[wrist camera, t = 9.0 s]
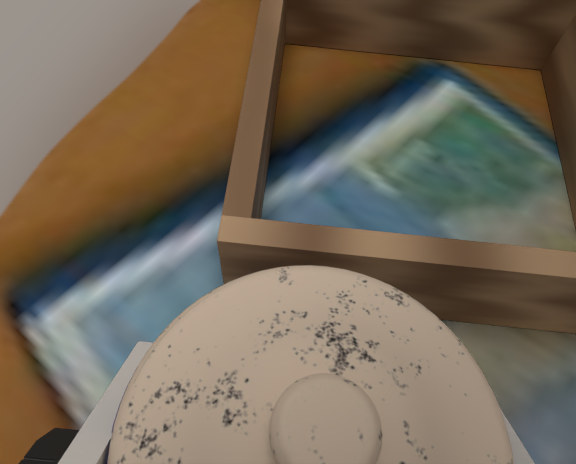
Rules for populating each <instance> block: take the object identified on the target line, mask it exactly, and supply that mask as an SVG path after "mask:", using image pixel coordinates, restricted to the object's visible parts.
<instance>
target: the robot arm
mask: <svg viewBox="0 0 576 464" xmlns="http://www.w3.org/2000/svg"><path fill="white" fill-rule="evenodd" d="M152 344H153V343H151V342H141V341H138V343H137V344H136V346H135V347H134V349H133V350H132V352H131V353H130V355H129V356H128V358H127V359H126V361H125V362H124V364H123V365H122V367H121V369H120V370H119V372H118V373H117V375H116V376H115V378H114V379H113V381H112V382H111V384H110V385H109V387H108V388H107V390H106V391H105V393H104V394H103V396H102V397H101V399H100V400H99V402H98V403H97V405H96V406H95V408H94V409H93V411H92V412H91V414H90V415H89V417H88V418H87V420H86V422H85V423H84V425H83V426H82V428H81V429H80V430H70V429H61V428H54V429H53V430H51V431H50V432H48V433H47V434H46V435H44V436H43V437H41V438H40V439H38V440H37V441H36V442H35V443H34V445H33V446H32V447H31V449H30V450H29V451H28V452H27V454H26V455H25V456H24V460H21V462H20V463H19V464H106V462H107V457H108V452H109V447H110V441H111V436H112V427H113V423H114V420H115V417H116V414H117V411H118V408H119V404H120V402H121V400H122V397H123V395H124V392H125V390H126V388H127V385H128V383H129V381H130V380H131V378H132V376H133V374H134V372H135V370H136V368H137V367H138V365H139V363H140V362H141V360H142V359H143V357H144V356H145V354H146V352H147V351H148V349H149V348H150V347H151V346H152ZM500 410H501V409H500ZM501 413H502V416H503V419H504V422H505V425H506V428H507V431H508V435H509V440H510V444H511V448H512V453H513V460H514V464H535V463H534V461H533V460H532V458H531V457H530V455H529V453H528V452H527V450H526V449H525V447H524V446H523V444H522V442H521V441H520V439H519V438H518V436H517V434H516V433H515V431H514V430H513V428H512V426H511V425H510V423H509V422H508V420H507V418H506V417H505V415H504V414H503V412H502V410H501Z"/></svg>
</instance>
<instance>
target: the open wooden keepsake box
mask: <svg viewBox="0 0 576 464" xmlns="http://www.w3.org/2000/svg"><path fill="white" fill-rule="evenodd" d="M285 44H295V45H305V46H314V47H324V48H334V49H343V50H353V51H363V52H373V53H382V54H392V55H402V56H412V57H421V58H431V59H441V60H450V61H460V62H470V63H480V64H489V65H499V66H509V67H518V68H528V69H538V70H541V73H542V77H543V82H544V87H545V91H546V96H547V100H548V105H549V109H550V114H551V118H552V123H553V127H554V132H555V137H556V141H557V146H558V150H559V155H560V159H561V164H562V168H563V173H564V178H565V182H566V187H567V191H568V196H569V200H570V205H571V209H572V214H573V218H574V223H575V228H576V0H261V3H260V8H259V14H258V19H257V25H256V30H255V36H254V41H253V47H252V52H251V58H250V63H249V69H248V74H247V79H246V85H245V90H244V96H243V101H242V107H241V112H240V118H239V123H238V129H237V134H236V140H235V145H234V151H233V156H232V162H231V167H230V173H229V178H228V184H227V189H226V195H225V200H224V206H223V211H222V217H221V222H220V228H219V233H218V239H217V244H218V250H219V256H220V263H221V269H222V275H223V282H224V284H226V283H228V282H230V281H233V280H235V279H238V278H240V277H243V276H245V275H249V274H252V273H255V272H259V271H262V270H267V269H272V268H277V267H286V266H302V265H313V266H327V267H333V268H340V269H345V270H349V271H353V272H357V273H361V274H364V275H366V276H369V277H372V278H375V279H377V280H380V281H382V282H384V283H386V284H389V285H391V286H393V287H395V288H396V289H398V290H400V291H402V292H404V293H405V294H407V295H409V296H410V297H412V298H413V299H415V300H416V301H418V302H419V303H421V304H422V305H423V306H425V307H426V308H427V309H428V310H430V311H431V312H432V313H433V314H435V315H436V316H437V317H438V318H439V319H440V320H449V321H459V322H468V323H478V324H488V325H497V326H507V327H517V328H526V329H536V330H545V331H555V332H565V333H574V334H576V252H573V251H563V250H553V249H544V248H534V247H524V246H515V245H505V244H495V243H486V242H476V241H466V240H457V239H447V238H437V237H428V236H418V235H408V234H399V233H389V232H379V231H370V230H360V229H350V228H341V227H331V226H321V225H312V224H302V223H292V222H283V221H273V220H263V219H261V214H262V207H263V199H264V192H265V185H266V178H267V170H268V163H269V156H270V148H271V141H272V134H273V126H274V119H275V112H276V105H277V97H278V90H279V83H280V75H281V68H282V61H283V53H284V46H285Z"/></svg>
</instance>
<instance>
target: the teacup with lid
mask: <svg viewBox="0 0 576 464" xmlns="http://www.w3.org/2000/svg"><path fill="white" fill-rule="evenodd" d="M106 464H514V460H513V453H512V448H511V444H510V440H509V435H508V431H507V428H506V425H505V422H504V419H503V416H502V413H501V410H500V407H499V405H498V403H497V400H496V398H495V396H494V393H493V391H492V389H491V387H490V385H489V383H488V381H487V379H486V378H485V376H484V374H483V372H482V371H481V369H480V367H479V366H478V364H477V363H476V361H475V360H474V358H473V357H472V355H471V354H470V353H469V351H468V350H467V349H466V347H465V346H464V345H463V343H462V342H461V341H460V340H459V339H458V338H457V336H456V335H455V334H454V333H453V332H452V331H451V330H450V329H449V328H448V327H447V326H446V325H445V324H444V323H443V322H442V321H441V320H440V319H439V318H438V317H437V316H436V315H435V314H433V313H432V312H431V311H430V310H428V309H427V308H426V307H425V306H423V305H422V304H421V303H419V302H418V301H416V300H415V299H413V298H412V297H410V296H409V295H407V294H405V293H404V292H402V291H400V290H398V289H396V288H395V287H393V286H391V285H389V284H386V283H384V282H382V281H380V280H377V279H375V278H372V277H369V276H366V275H364V274H361V273H357V272H353V271H349V270H345V269H340V268H333V267H327V266H313V265H302V266H286V267H277V268H272V269H267V270H262V271H259V272H255V273H252V274H249V275H245V276H243V277H240V278H238V279H235V280H233V281H230V282H228V283H226V284H224V285H222V286H220V287H218V288H216V289H214V290H213V291H211V292H209V293H208V294H206V295H205V296H203V297H201V298H200V299H199V300H197V301H196V302H195V303H193V304H192V305H191V306H189V307H188V308H187V309H185V310H184V311H183V312H182V313H181V314H180V315H179V316H178V317H176V318H175V319H174V320H173V321H172V322H171V323H170V324H169V325H168V326H167V328H166V329H165V330H164V331H163V332H162V333H161V334H160V335H159V337H158V338H157V339H156V340H155V342H154V343H153V344H152V346H151V347H150V348H149V349H148V351H147V352H146V354H145V356H144V357H143V359H142V360H141V362H140V363H139V365H138V367H137V368H136V370H135V372H134V374H133V376H132V378H131V380H130V381H129V383H128V385H127V388H126V390H125V392H124V395H123V397H122V400H121V402H120V404H119V408H118V411H117V414H116V417H115V420H114V423H113V427H112V436H111V441H110V447H109V452H108V457H107V462H106Z"/></svg>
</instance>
